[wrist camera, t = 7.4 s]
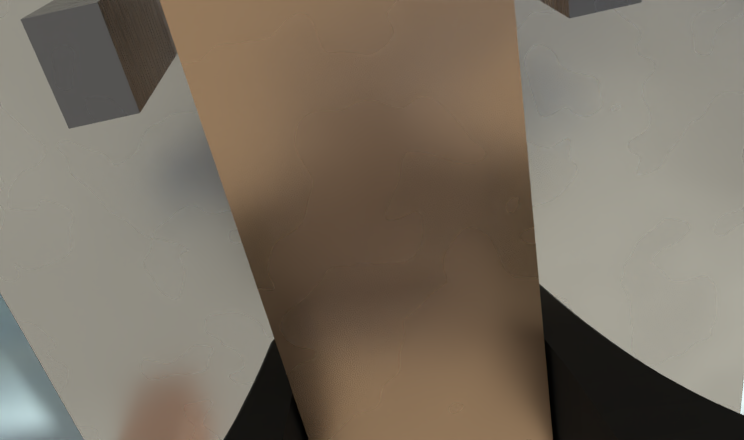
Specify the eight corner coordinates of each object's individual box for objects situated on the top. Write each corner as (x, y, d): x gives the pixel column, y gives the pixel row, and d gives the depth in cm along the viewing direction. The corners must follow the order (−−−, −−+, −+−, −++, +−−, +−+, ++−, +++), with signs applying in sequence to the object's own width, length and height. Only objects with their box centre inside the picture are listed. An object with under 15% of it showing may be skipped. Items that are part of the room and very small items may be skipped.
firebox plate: (768, -491, 10) (1077, -721, 6) (699, 518, 22) (791, 669, 18) (-247, -260, 10) (-598, -337, 6) (219, 620, 22) (201, 793, 18)
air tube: (526, 546, 19) (577, 701, 16) (388, 575, 19) (408, 736, 16) (434, -164, 11) (500, -175, 7) (184, -108, 11) (125, -91, 7)
